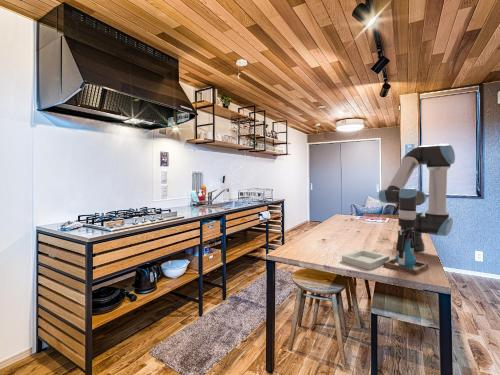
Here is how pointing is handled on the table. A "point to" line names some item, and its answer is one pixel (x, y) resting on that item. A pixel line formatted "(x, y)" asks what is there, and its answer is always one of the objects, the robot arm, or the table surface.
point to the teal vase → (408, 256)
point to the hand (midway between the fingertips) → (405, 262)
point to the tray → (365, 259)
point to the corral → (390, 264)
